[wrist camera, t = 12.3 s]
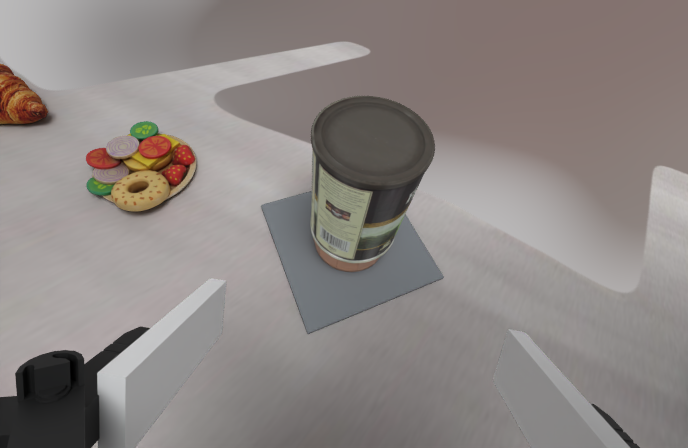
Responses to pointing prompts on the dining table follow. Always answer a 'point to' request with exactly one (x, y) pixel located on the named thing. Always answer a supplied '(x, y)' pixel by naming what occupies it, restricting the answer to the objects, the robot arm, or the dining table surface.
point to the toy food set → (141, 168)
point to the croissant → (18, 100)
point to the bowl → (343, 265)
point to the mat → (338, 286)
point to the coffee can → (365, 174)
